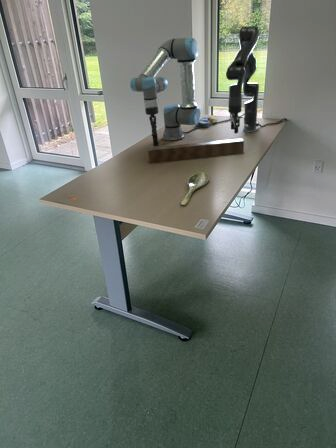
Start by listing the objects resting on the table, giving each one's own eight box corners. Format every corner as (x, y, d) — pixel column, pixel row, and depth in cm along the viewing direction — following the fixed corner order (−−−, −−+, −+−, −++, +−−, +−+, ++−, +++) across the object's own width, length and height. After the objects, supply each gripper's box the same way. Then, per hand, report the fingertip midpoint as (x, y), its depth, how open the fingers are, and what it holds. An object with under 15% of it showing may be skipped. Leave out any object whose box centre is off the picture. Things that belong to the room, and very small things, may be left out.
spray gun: (219, 120, 278) (203, 120, 284) (219, 115, 276) (202, 115, 282) (211, 128, 263) (193, 127, 269) (211, 122, 261) (193, 122, 267)
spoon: (193, 209, 156) (193, 205, 155) (172, 207, 159) (171, 203, 158) (212, 175, 182) (212, 172, 181) (193, 174, 186) (193, 170, 184)
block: (149, 163, 208) (148, 150, 203) (149, 160, 212) (147, 148, 208) (243, 153, 210) (244, 140, 205) (241, 150, 214) (241, 138, 210)
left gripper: (159, 111, 182) (163, 148, 193) (156, 101, 203) (160, 135, 214) (145, 112, 182) (150, 150, 193) (144, 102, 203) (148, 136, 214)
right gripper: (244, 105, 190) (243, 134, 198) (238, 100, 202) (237, 127, 210) (231, 107, 189) (231, 135, 198) (225, 101, 201) (225, 128, 210)
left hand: (155, 142), depth 204 cm, fingers open, 13 cm apart
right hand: (234, 131), depth 204 cm, fingers open, 8 cm apart
